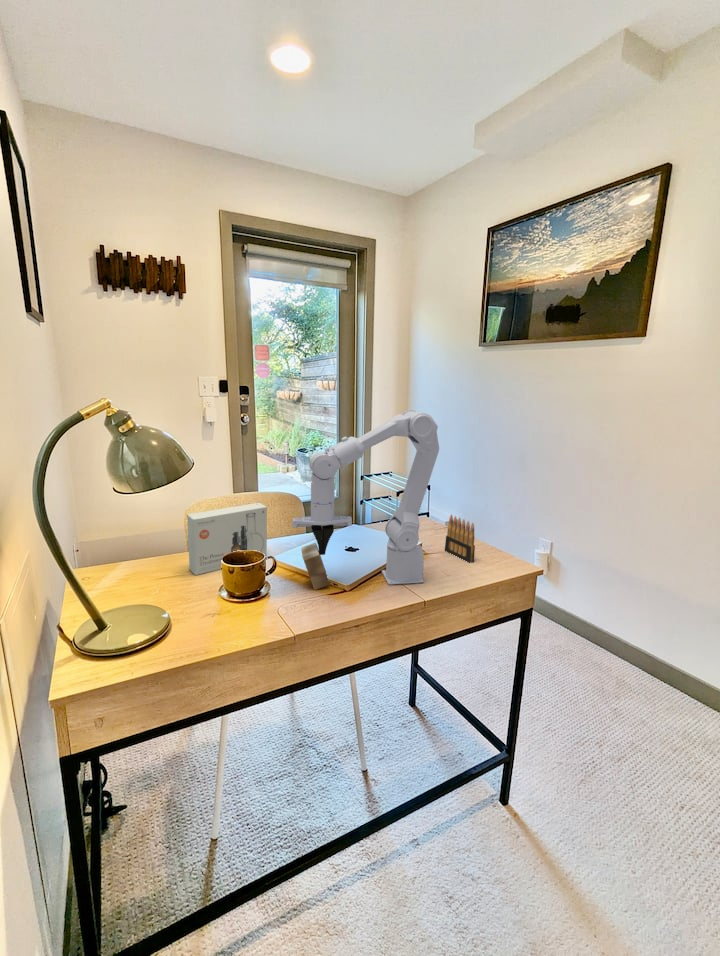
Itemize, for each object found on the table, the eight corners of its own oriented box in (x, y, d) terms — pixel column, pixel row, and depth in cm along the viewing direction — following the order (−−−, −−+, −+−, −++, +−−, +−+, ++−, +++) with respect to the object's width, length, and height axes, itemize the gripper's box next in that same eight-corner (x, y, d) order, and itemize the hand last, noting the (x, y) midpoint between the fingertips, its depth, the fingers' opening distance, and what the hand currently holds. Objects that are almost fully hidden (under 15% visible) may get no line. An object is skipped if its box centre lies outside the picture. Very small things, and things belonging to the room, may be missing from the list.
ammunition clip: (444, 550, 138) (447, 513, 135) (448, 549, 139) (451, 513, 136) (469, 563, 129) (473, 524, 126) (474, 562, 130) (477, 523, 127)
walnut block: (326, 574, 116) (315, 542, 114) (329, 584, 111) (318, 551, 108) (312, 579, 116) (301, 547, 113) (314, 590, 110) (302, 556, 108)
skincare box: (195, 577, 116) (192, 519, 112) (188, 569, 120) (185, 513, 116) (268, 558, 129) (267, 505, 125) (259, 552, 133) (258, 501, 129)
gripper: (349, 496, 114) (347, 546, 117) (292, 497, 111) (292, 548, 114) (353, 504, 107) (352, 556, 110) (293, 505, 104) (293, 559, 107)
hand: (322, 553), depth 112 cm, fingers closed
